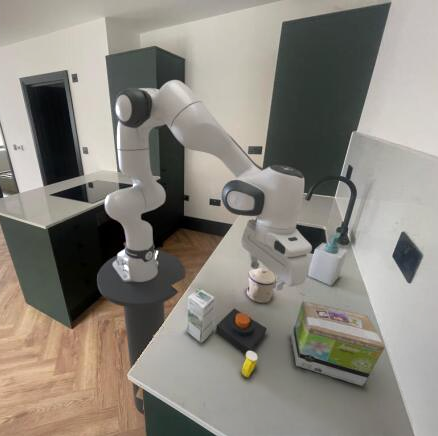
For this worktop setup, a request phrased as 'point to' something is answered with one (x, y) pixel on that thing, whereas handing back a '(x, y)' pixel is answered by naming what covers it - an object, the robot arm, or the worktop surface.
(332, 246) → the soap bottle
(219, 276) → the worktop surface
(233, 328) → the button base
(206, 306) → the syrup box
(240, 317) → the orange button cap
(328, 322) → the tea box
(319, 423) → the worktop surface
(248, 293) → the teacup with lid
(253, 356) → the yellow chunky piece
